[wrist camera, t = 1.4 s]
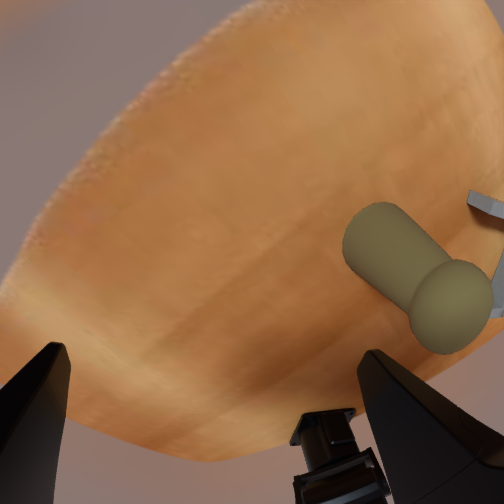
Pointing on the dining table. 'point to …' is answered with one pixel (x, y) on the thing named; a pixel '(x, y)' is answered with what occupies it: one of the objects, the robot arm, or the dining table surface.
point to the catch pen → (500, 283)
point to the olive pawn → (419, 277)
